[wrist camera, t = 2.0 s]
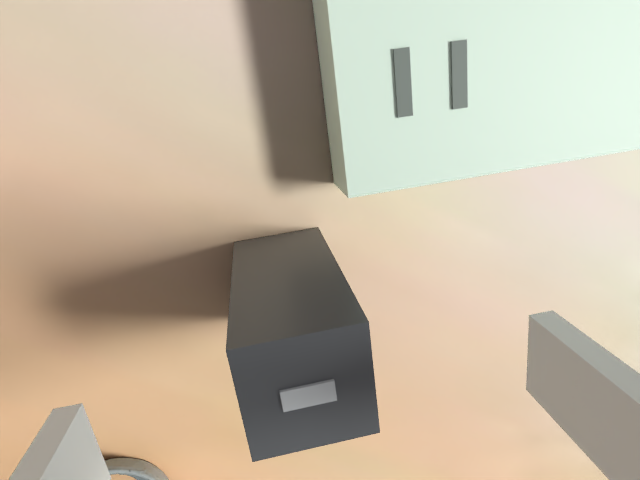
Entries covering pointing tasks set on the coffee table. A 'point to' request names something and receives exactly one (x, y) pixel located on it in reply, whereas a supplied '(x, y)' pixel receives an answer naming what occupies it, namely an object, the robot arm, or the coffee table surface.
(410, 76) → the outlet plate
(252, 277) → the charger block
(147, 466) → the ceramic mug
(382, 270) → the coffee table surface
